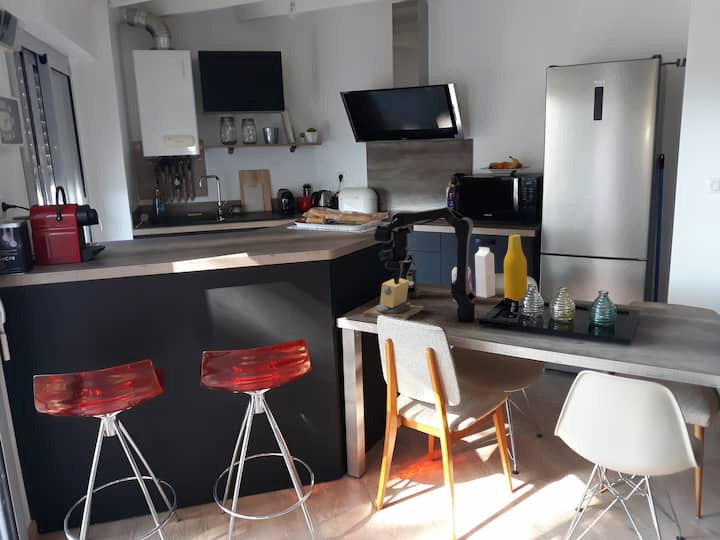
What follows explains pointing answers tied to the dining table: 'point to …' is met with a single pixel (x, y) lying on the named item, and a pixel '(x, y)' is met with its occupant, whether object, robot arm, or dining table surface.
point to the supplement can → (454, 276)
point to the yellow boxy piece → (394, 292)
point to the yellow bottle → (515, 270)
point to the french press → (412, 283)
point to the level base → (401, 315)
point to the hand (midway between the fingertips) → (400, 281)
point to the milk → (484, 273)
